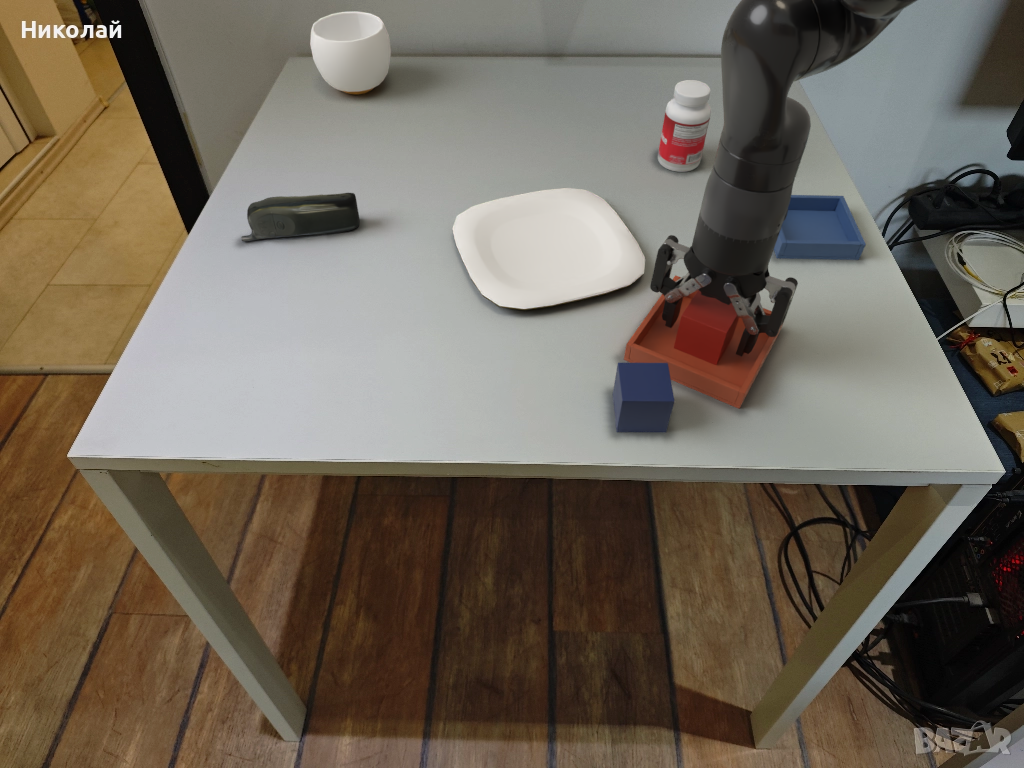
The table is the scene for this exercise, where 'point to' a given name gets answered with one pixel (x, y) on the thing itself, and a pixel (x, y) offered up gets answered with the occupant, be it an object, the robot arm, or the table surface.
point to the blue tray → (819, 230)
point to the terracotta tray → (715, 381)
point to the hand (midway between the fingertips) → (706, 336)
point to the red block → (706, 328)
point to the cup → (351, 50)
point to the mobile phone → (302, 215)
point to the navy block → (642, 397)
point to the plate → (546, 248)
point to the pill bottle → (685, 126)
